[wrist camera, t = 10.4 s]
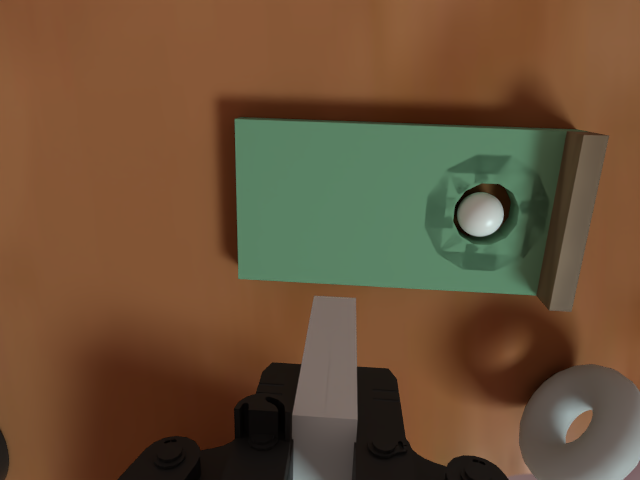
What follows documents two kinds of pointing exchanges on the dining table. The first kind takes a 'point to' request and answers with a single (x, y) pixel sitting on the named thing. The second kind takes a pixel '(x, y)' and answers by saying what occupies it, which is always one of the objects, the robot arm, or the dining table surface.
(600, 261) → the dining table surface
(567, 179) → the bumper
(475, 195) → the ball
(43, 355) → the dining table surface
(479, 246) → the mat
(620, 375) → the donut
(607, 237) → the dining table surface
